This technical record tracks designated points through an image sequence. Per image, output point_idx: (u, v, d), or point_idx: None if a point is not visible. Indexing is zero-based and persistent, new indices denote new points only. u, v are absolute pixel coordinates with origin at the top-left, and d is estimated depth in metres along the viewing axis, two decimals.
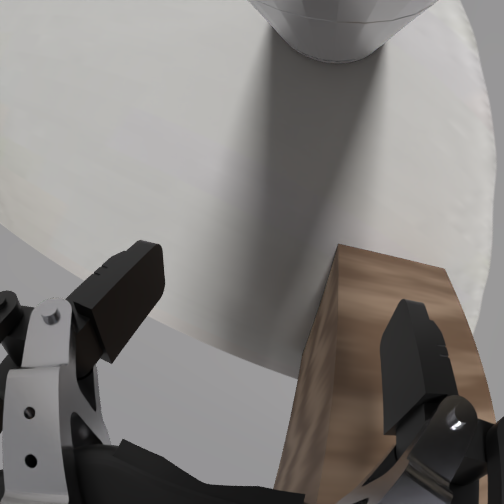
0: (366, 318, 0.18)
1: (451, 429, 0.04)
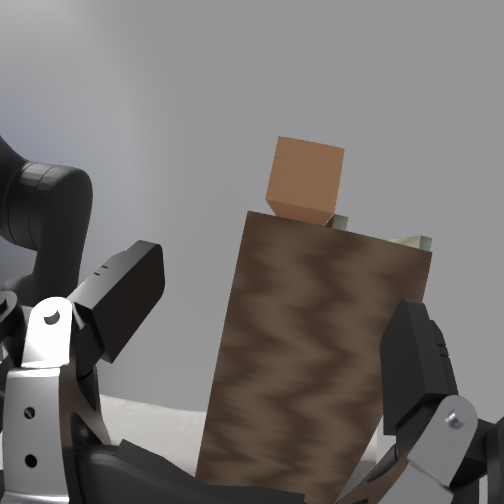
0: None
1: (451, 429, 0.04)
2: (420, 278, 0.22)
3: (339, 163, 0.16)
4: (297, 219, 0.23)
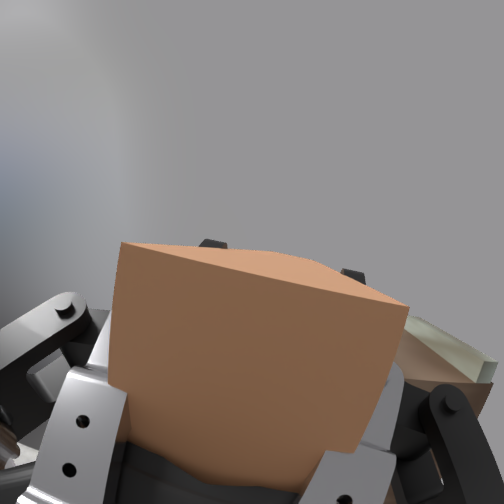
0: None
1: None
2: None
3: (376, 376, 0.03)
4: None
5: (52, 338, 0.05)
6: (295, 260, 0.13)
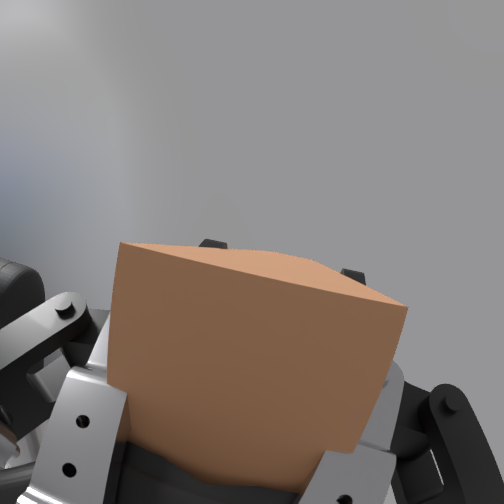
0: None
1: None
2: None
3: (374, 377, 0.03)
4: None
5: (52, 338, 0.05)
6: (294, 260, 0.13)
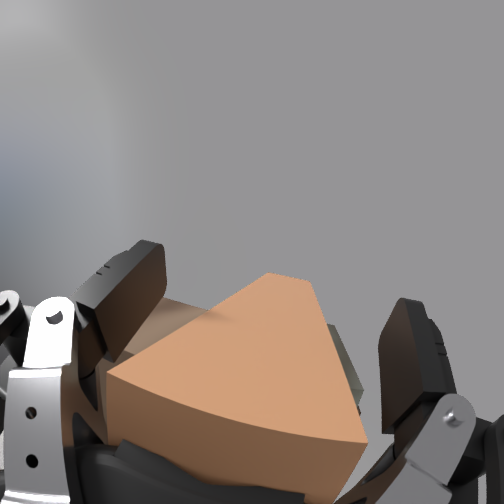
0: None
1: (449, 428, 0.04)
2: None
3: (333, 485, 0.03)
4: None
5: None
6: (287, 303, 0.13)
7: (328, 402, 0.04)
